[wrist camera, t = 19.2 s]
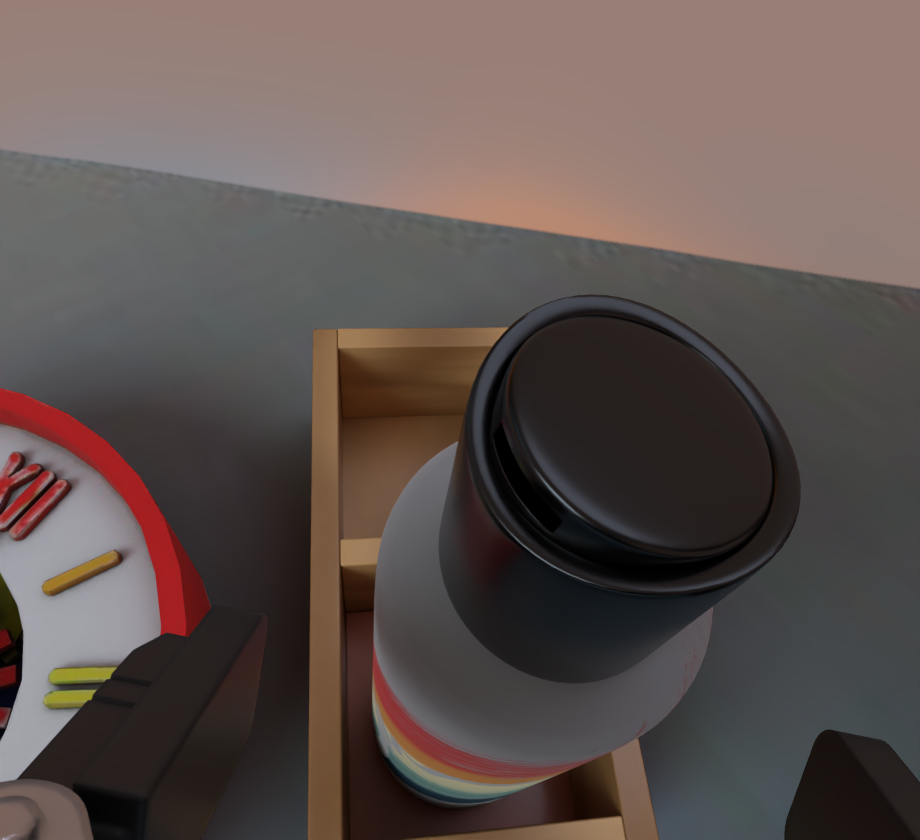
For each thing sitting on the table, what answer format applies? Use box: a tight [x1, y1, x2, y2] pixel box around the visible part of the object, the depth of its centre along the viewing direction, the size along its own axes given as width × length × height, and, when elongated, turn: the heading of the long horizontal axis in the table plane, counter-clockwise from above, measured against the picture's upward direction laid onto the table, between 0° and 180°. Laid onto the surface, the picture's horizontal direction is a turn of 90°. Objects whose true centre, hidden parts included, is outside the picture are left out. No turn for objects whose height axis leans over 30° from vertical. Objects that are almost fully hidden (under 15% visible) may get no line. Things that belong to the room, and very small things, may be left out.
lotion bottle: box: [372, 295, 800, 809], centre depth 16 cm, size 6×6×20 cm
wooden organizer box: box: [308, 327, 659, 840], centre depth 25 cm, size 9×18×6 cm, turn 6°
